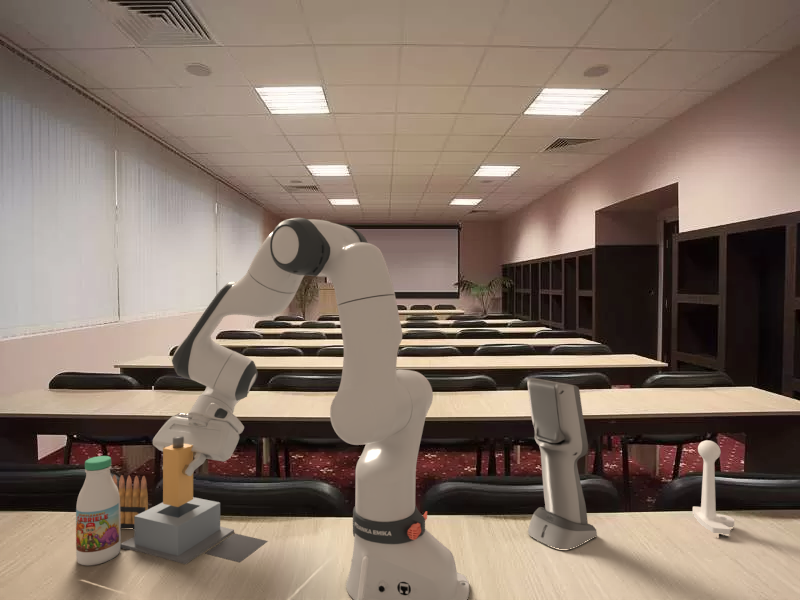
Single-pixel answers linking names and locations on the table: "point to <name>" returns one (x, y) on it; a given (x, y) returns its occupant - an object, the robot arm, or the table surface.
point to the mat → (236, 547)
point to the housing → (178, 530)
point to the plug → (177, 473)
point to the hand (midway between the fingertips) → (175, 472)
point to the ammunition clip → (131, 500)
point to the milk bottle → (98, 514)
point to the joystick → (710, 492)
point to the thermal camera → (559, 464)
